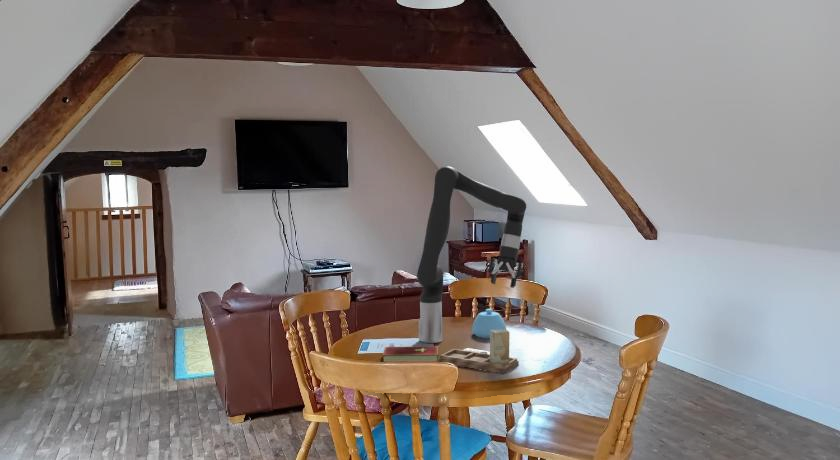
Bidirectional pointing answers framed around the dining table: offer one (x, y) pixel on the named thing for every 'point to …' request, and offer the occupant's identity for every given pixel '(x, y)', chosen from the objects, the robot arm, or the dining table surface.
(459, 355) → the socket board
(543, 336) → the dining table surface
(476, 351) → the card
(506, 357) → the skincare box
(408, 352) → the hardcover book
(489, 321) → the sugar bowl
